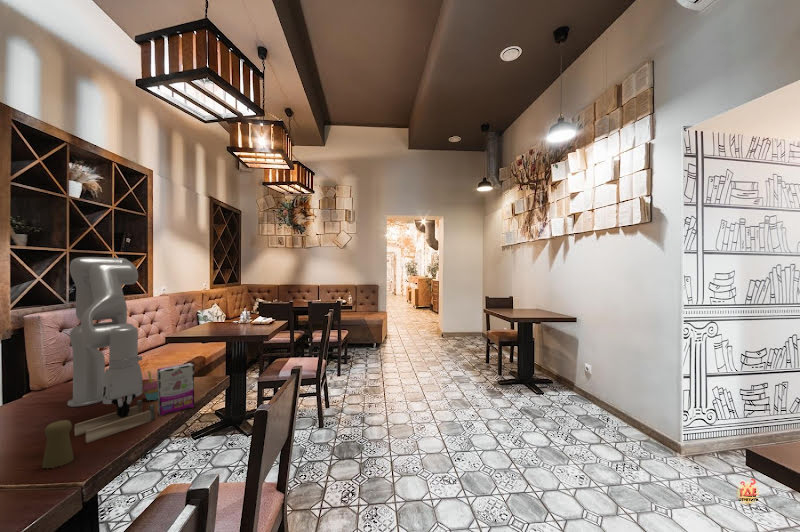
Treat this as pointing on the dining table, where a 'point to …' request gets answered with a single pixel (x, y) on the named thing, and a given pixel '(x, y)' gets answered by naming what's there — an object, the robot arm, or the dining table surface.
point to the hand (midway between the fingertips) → (123, 416)
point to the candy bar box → (175, 388)
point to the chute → (114, 423)
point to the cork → (58, 444)
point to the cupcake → (151, 389)
